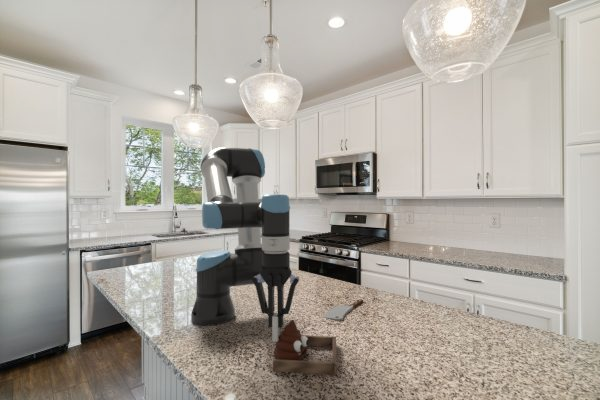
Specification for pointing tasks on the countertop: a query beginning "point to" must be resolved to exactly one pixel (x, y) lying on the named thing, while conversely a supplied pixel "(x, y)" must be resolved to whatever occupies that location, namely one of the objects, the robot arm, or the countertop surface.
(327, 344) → the walnut corral
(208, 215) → the robot arm
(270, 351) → the countertop surface
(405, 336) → the countertop surface
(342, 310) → the kitchen cleaver
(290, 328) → the poop emoji
